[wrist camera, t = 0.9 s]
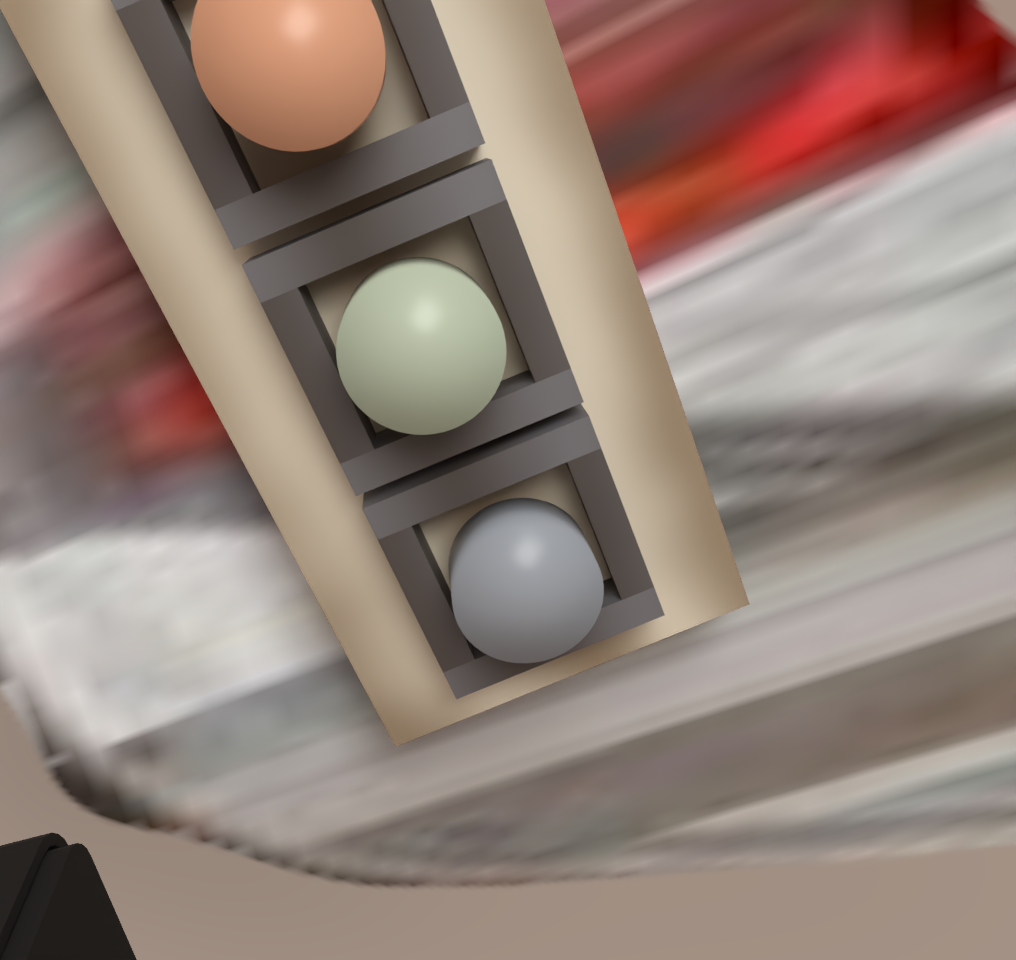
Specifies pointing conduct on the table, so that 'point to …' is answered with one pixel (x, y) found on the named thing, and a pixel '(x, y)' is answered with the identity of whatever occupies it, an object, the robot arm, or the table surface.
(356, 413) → the button board
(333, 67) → the button terracotta
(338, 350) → the button sage
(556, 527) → the button slate
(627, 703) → the table surface
